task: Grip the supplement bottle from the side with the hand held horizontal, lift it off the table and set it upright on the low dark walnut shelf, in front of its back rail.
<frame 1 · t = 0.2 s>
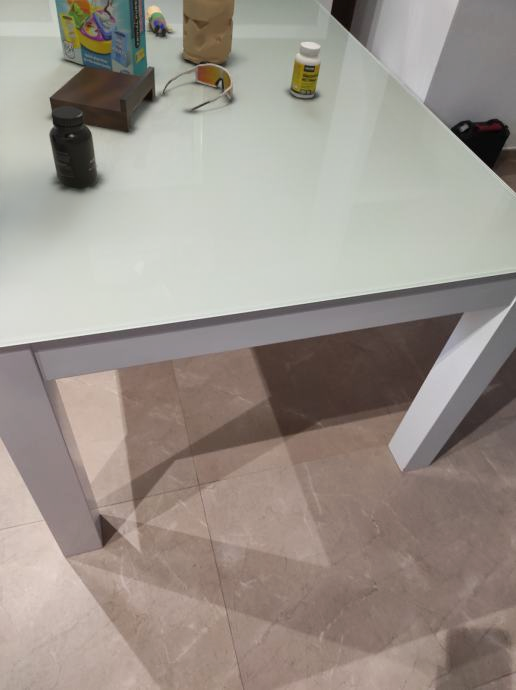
sunglasses: (199, 96, 120), on the table
game box: (106, 68, 125), on the table
supplement bottle: (78, 180, 91), on the table
pill bottle: (302, 94, 127), on the table
shelf: (106, 107, 111), on the table
toy figurine: (158, 30, 146), on the table
container: (206, 59, 135), on the table
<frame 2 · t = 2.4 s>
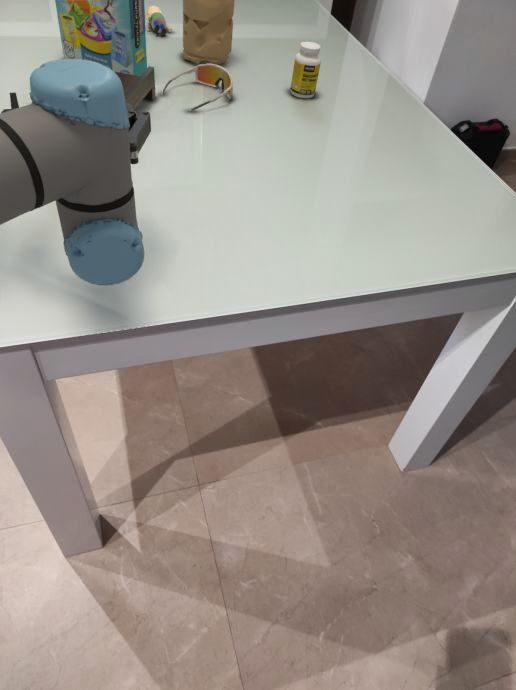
hand: (67, 100, 72), 18 cm above the table, tool horizontal, fingers open, 13 cm apart
nothing on the table moved.
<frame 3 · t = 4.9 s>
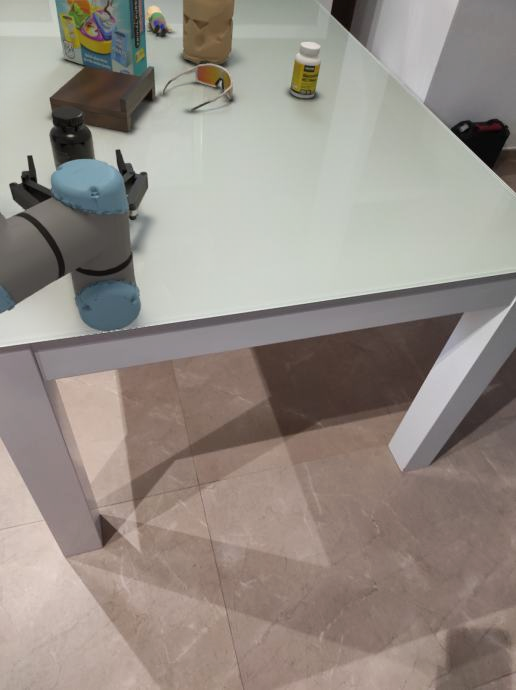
hand: (76, 159, 83), 6 cm above the table, tool horizontal, fingers open, 13 cm apart
nothing on the table moved.
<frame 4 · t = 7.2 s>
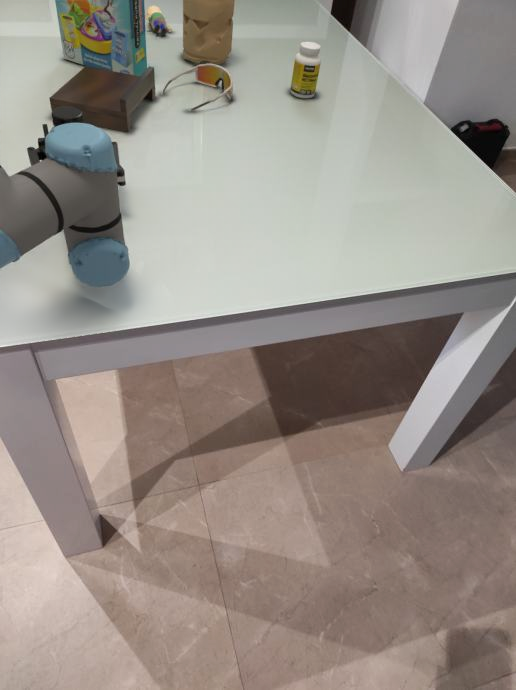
hand: (69, 130, 89), 7 cm above the table, tool horizontal, fingers closed on supplement bottle, 7 cm apart
supplement bottle: (78, 180, 91), on the table, touching gripper
everything else where it was.
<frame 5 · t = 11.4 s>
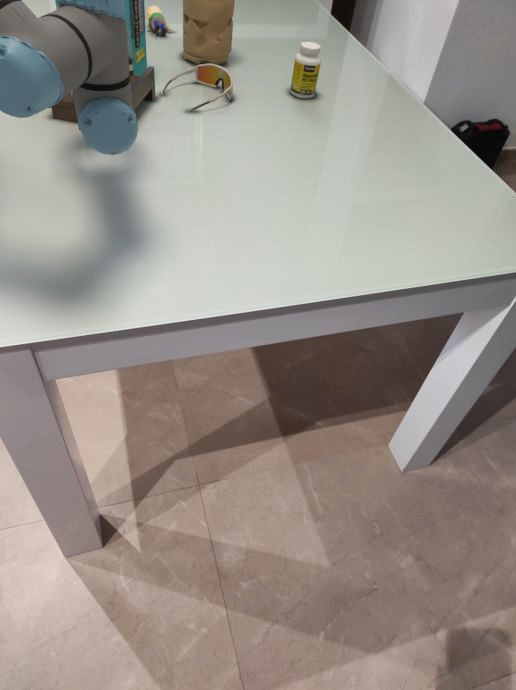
hand: (78, 30, 91), 18 cm above the table, tool horizontal, fingers closed on supplement bottle, 7 cm apart
supplement bottle: (87, 81, 93), point 11 cm above the table, touching gripper
everything else where it was.
when the fingers open (11 cm above the table, at t = 15.7 s): supplement bottle stays where it is, resting on shelf.
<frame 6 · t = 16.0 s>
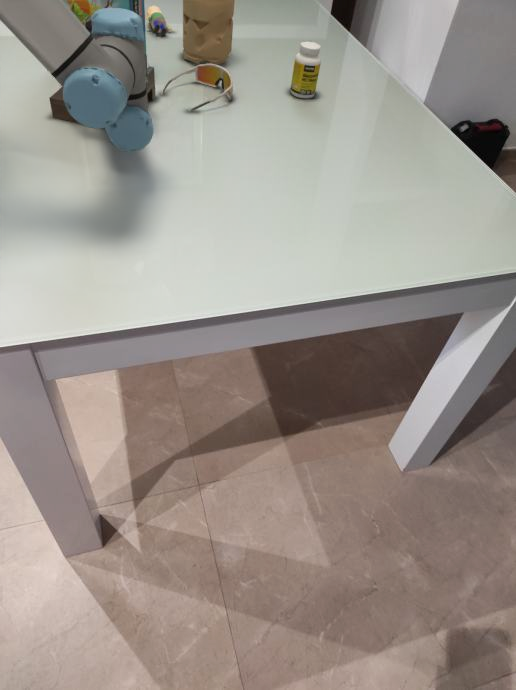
hand: (97, 47, 106), 10 cm above the table, tool horizontal, fingers open, 10 cm apart
supplement bottle: (105, 88, 108), point 4 cm above the table, touching shelf
everything else where it was.
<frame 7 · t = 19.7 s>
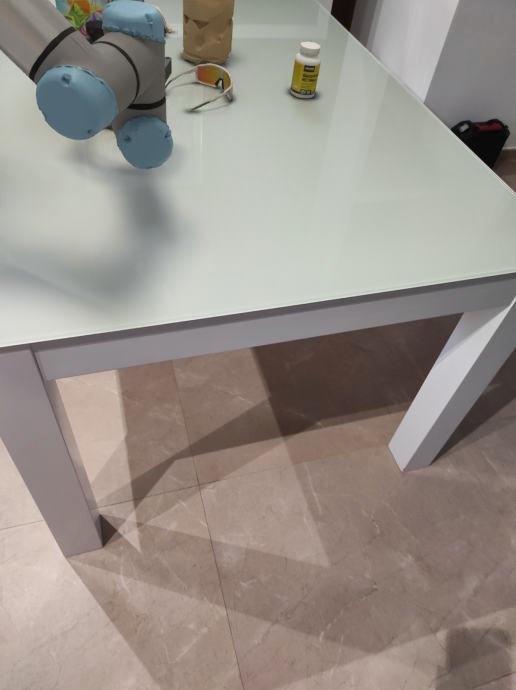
hand: (106, 49, 93), 15 cm above the table, tool horizontal, fingers open, 13 cm apart
nothing on the table moved.
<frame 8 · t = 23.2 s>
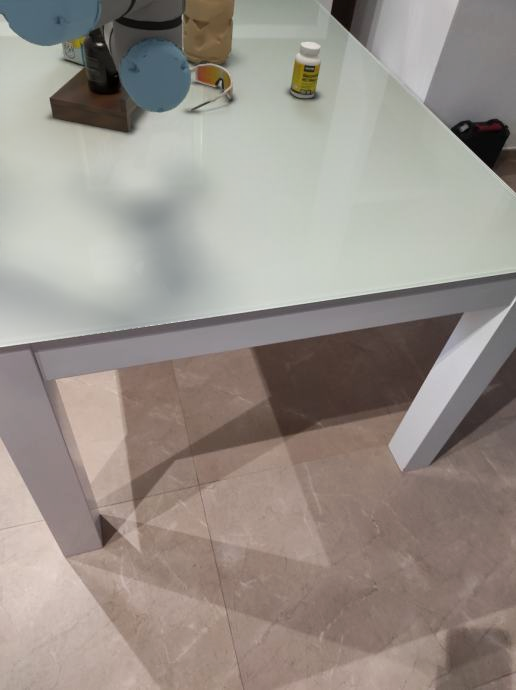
nothing on the table moved.
at the end: supplement bottle inside the target area on the shelf (0.0 cm from its centre), point 3.8 cm above the shelf's base; supplement bottle tilted 0°; the gripper is holding nothing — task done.
